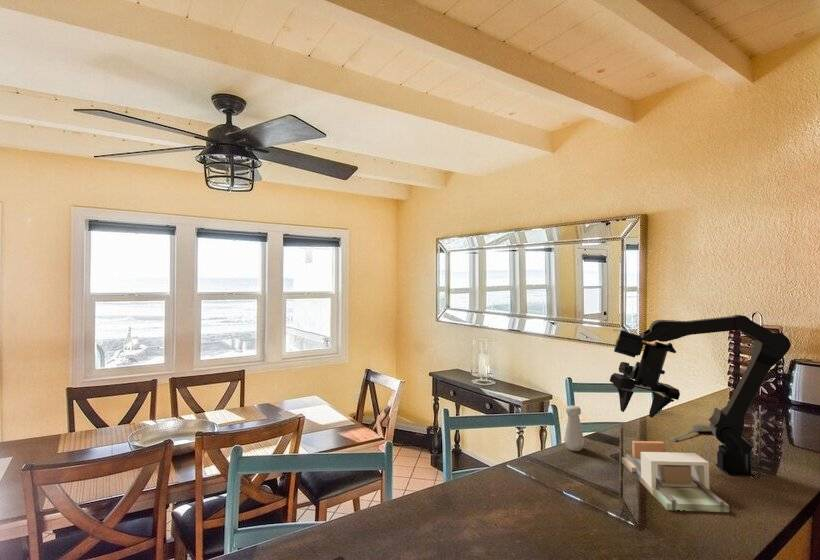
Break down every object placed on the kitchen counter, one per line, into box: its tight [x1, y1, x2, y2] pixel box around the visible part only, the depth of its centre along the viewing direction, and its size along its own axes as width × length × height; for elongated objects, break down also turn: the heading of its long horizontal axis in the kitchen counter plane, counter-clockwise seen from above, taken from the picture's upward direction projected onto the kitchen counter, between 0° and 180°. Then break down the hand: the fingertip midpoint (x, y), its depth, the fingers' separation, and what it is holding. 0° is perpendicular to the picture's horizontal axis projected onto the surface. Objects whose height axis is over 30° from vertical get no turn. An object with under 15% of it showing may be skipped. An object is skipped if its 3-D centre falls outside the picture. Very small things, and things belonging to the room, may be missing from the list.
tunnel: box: [641, 451, 710, 490], centre depth 107 cm, size 13×6×6 cm, turn 84°
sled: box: [631, 440, 697, 488], centre depth 113 cm, size 8×18×5 cm, turn 174°
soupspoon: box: [669, 423, 712, 442], centre depth 145 cm, size 22×3×7 cm
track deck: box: [621, 454, 730, 513], centre depth 110 cm, size 13×26×2 cm, turn 174°
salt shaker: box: [563, 404, 585, 452], centre depth 135 cm, size 6×6×13 cm
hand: (636, 414), depth 126 cm, fingers open, 9 cm apart
